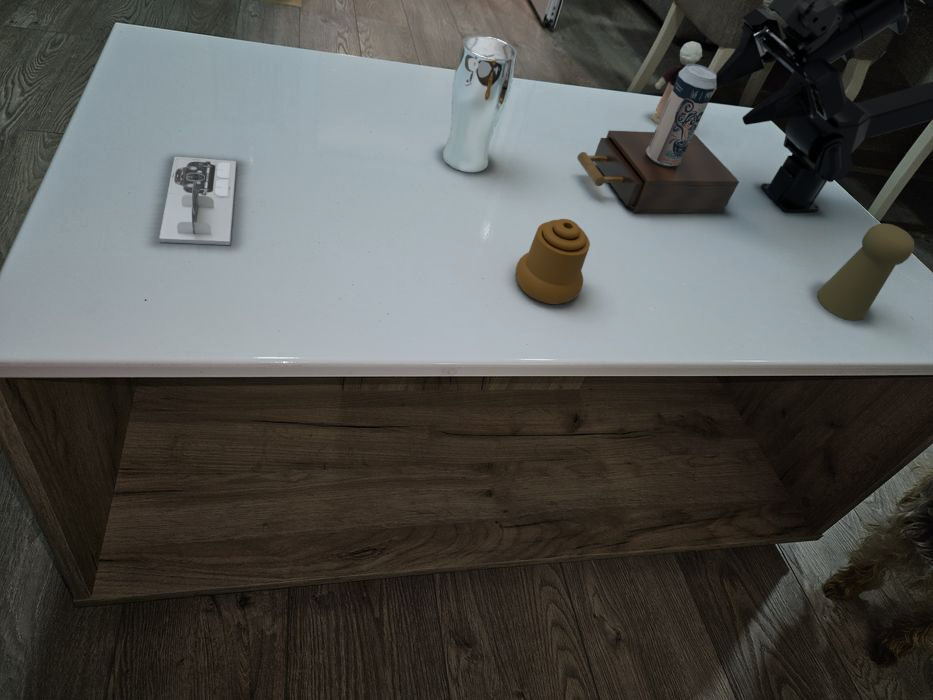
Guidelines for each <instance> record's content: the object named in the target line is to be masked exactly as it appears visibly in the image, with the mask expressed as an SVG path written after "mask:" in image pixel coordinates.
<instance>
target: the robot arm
mask: <svg viewBox="0 0 933 700" xmlns="http://www.w3.org/2000/svg"><path fill="white" fill-rule="evenodd" d="M919 1H920V2H921V3H923V4H924V5H926V6H929V7H933V0H919ZM767 8H768V9H769V10H770V11H771V12H775V13H776V15H778V16H779V17H780V18H781V19H782V20H783V23H782V24H781V25H779V22H778V20H777V18H775V17H774V16H773V15H772V14H771V13H770V12H768V11H767V10H765V9H764V8H757V7H756V8H753V9H752V10H751V11H749V12H748V13H746V14H745V15H743V16H742V17H741V23H742V25H741V27H740V33H741V36H740V39H739V43H738V45H737V47H736V48H735V49H734V51H733V52H732V54H731V55H730V56H729V57H728V59H727V60H726V61H725V62H724V63H723V65H722V66H721V67H720V68H719V69H718V71H717V72H715V74H716V83H717V86H716V88H715V89H717V88H720V87H721V88H722V87H723V86H726V85H728V84H732V83H734V82H736V81H738V80H740V79H742V78H745V77H747V76H749V75H752V74H755V73H757V72H759V71H761V70H764V69H765V65H764V64H766V63H767V64H768V63H773V62H774V61H776V60H778V62H780V63H781V64H782V65H783V66H784V67H785V68H787V70H788V71H790V72H791V75H790V77H789V78H788V80H787V81H786V83H785V84H784V85H783V86H782V88H780V89H779V90H777V91H776V92H775V93H773V94H772V95H770V96H769V97H768V98H766V99H764V100H763V101H762V102H760V103H759V104H758V105H756V106H754V107H753V108H752V109H750V110H749V111H747V113H746V114H744V115H743V116H742V122H743V124H744V125H745V126H747V125H755V124H760V123H767V122H774V121H779V120H786V119H787V120H788V119H789V120H788V121H787V123H786V126H785V137H784V141H783V147H784V148H786V149H787V150H788V151H789V152H790V153H791V155H787V157H786V159H785V160H784V162H783V163H782V165H781V166H780V167H779V168H778V170H777V172H776V174H775V175H774V176H773V178H772V180H771V182H770V183H769V182H767V183H765V182H764V183H762V184H761V185H760V188H761V189H762V190H763V191H764V192H765V194H767V195H768V196H769V197H770V198H771V200H772V201H773V202H774V203H775V204H776V205H777V206H778V207H779V208H780V209H781V210H782V211H784V212H786V213H794V212H795V213H796V212H797V213H798V212H799V213H800V212H801V213H802V212H803V213H804V212H806V213H807V212H808V213H809V212H814V213H815V212H819V210H820V207H819V205H817V204H816V202H815V201H816V199H817V197H818V196H819V195H820V193H821V191H822V190H823V188H824V187H825V185H826V183H827V182H828V183H833V182H834V181H835V180H837V181H841V180H843V179H844V178H845V177H846V176H847V175H848V174H849V173H850V172H851V171H852V170H853V169H854V165H853V161H852V157H851V154H852V153H854V152H855V150H856V149H857V148H858V147H859V146H860V145H861V144H862V142H863V141H864V140H867V139H870V138H873V137H878V136H880V135H883V134H887V133H891V132H894V131H898V130H902V129H905V128H908V127H911V126H915V125H918V124H923V123H925V122H926V123H927V122H929V121H933V81H929V82H926V83H922V84H919V85H915V86H912V87H908V88H904V89H901V90H898V91H895V92H891V93H888V94H884V95H880V96H876V97H874V98H870V99H867V100H863V101H860V102H854V101H852V100H851V99H850V97H848V96H847V95H846V91H845V86H844V81H843V77H842V72H841V71H839V70H838V69H837V68H836V67H834V65H832V63H833V62H835V61H837V60H839V59H840V58H841V59H843V60H844V61H845V62H847V63H848V61H851V59H854V58H855V56H856V55H855V51H854V49H855V48H857V47H858V46H860V45H861V44H863V43H865V42H866V41H868V40H869V39H871V38H872V37H874V36H876V35H877V34H880V33H881V32H883V31H884V30H885V29H887V28H889V29H890V30H892V31H893V32H895V33H896V34H898V35H903V34H904V33H906V30H907V28H908V27H909V23H910V18H911V16H912V15H913V14H914V13H915V12H914V9H912V8H911V7H910V6H908V5H907V4H906V0H838V1H837V2H835V3H834V4H833V3H832V2H830V1H829V0H817V1H814V0H772V1H771V2H769V4H768V5H767ZM780 26H781V29H782V31H781V29H780ZM781 32H782V33H783V34H784V35H785V38H784V39H783V36H782V33H781Z"/></svg>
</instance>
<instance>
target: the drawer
mask: <svg viewBox="0 0 933 700" xmlns="http://www.w3.org/2000/svg"><path fill="white" fill-rule="evenodd" d="M576 159H577V161H578V163H579V164H580V166H581V167H582V168H583V169H584V171H585V172H586V174H587V175H588V177H589V178H590V179H591V181H592V183H593V184H594V185H595V186H596V187H601V186H603V185H604V184H610V185H611V186H612V187H613V189H614V190H615V192H616V193H617V195H618V196H619V198H620V199H621V200H622V201H623V203H624V204H625V206H626V207H629V206H634V205H635V203H636V201H637V198H638V197H639V195H640V193H641V190H642V188H643V186H644V184H645V181H644V180H643V179H642V178H641V176H640V175H639V174H638V172H637V171H636V170H635V169H634V167H633V166H632V165H631V164H630V162H629V161H628V160H627V158H626V157H625V156H624V155H623V153H622V152H621V151H620V150H619V148H618V147H617V146H616V144H615V146H614V145H613V143H612V142H611V141H610V139H609V138H606V137H600V139H599V142H598V145H597V147H596V150H595V153H594V154H593V155H589V154H588V153H587V152H585V151H581V152H579V154H578V155H577V158H576ZM601 172H602V173H601Z"/></svg>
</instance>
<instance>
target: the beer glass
mask: <svg viewBox="0 0 933 700" xmlns="http://www.w3.org/2000/svg"><path fill="white" fill-rule="evenodd" d="M517 57H518V51H517V49H516V48H515V47H514V46H513V45H512V44H510V43H509V42H507V41H505V40H502V39H500V38H497V37H494V36H490V35H483V34H472V35H468V36H466V37H465V38H463V40H462V44H461V48H460V52H459V55H458V59H457V62H456V66H455V71H454V76H453V82H452V91H451V93H452V94H451V122H450V123H451V126H450V132H449V135H448V139H447V142H446V143H445V145H444V148H443V152H442V159H443V161H444V162H445V163H446V164H447V165H448V166H450V167H451V168H452V169H455V170H458V171H461V172H464V173H480V172H482V171H484V170H485V169H486V168H487V167H488V166H489V150H490V149H489V148H490V145H491V144H490V142H491V139H492V138H493V137H492V136H493V134H494V132H495V130H496V127H497V125H498V122H499V120H500V118H501V116H502V113H503V111H504V109H505V107H506V104H507V101H508V100H509V99H508V98H509V96H510V92H511V88H512V84H513V79H514V74H515V67H516V62H517Z"/></svg>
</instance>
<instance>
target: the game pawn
mask: <svg viewBox="0 0 933 700" xmlns="http://www.w3.org/2000/svg"><path fill="white" fill-rule="evenodd" d="M914 250H915V240H914V239H913V237H912V235H910V233H908V232H907V231H906V230H905V229H903V228H901V227H899V226H897V225H894V224H890V223H883V222H882V223H878V224H875V225H873V226H872V227H870V228H869V229H868V230H867V231H866V232H865V234H864V235H863V238H862V240H861V247H860V248H859V249H858V250H857V251H856V252H855V253H854V254H853V255H852V256H851V258H849V259H848V260H847V261H846V262H845V263H844V264H843V265H842V266H841V268H839V269H838V270H837V271H836V272H835V273H834V274H833V275H832V276H831V278H829V280H827V281H826V282H825V283H824V284H823V285H822V287H820V289H818V291H816V292H817V297H816V298H817V299H818V301H819V303H820V304H821V306H822V307H823V308H825V309H826V310H827V311H828V312H829V313H831V314H833V315H834V316H836V317H838V318H840V319H843V320H846V321H850V322H859V321H862V320H863V319H864V318H865V316H866V315H867V313H868V312H869V310H870V308H871V307H872V305H873V303H874V302H875V300H876V298H877V297H878V295H879V293H880V292H881V290H882V289H883V287H884V285H885V284H886V283H887V280H888V279H889V277H890V275H891V274H892V273H893V270H894V269H895V267H896V266H897V265H901V264H903V263H905V262H906V261H907V260H908V259H909V258H910V257H911V256H912V254H913V252H914Z"/></svg>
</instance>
